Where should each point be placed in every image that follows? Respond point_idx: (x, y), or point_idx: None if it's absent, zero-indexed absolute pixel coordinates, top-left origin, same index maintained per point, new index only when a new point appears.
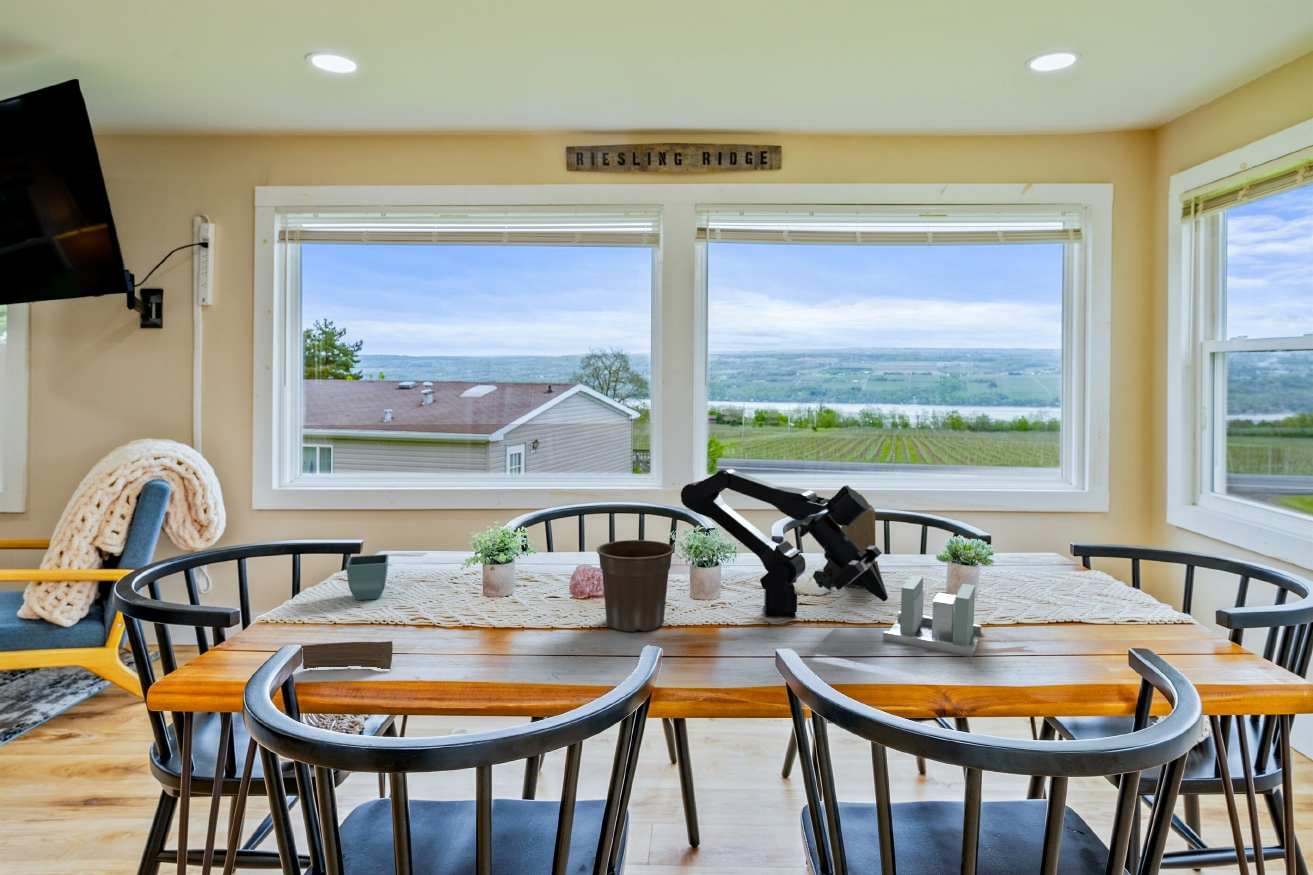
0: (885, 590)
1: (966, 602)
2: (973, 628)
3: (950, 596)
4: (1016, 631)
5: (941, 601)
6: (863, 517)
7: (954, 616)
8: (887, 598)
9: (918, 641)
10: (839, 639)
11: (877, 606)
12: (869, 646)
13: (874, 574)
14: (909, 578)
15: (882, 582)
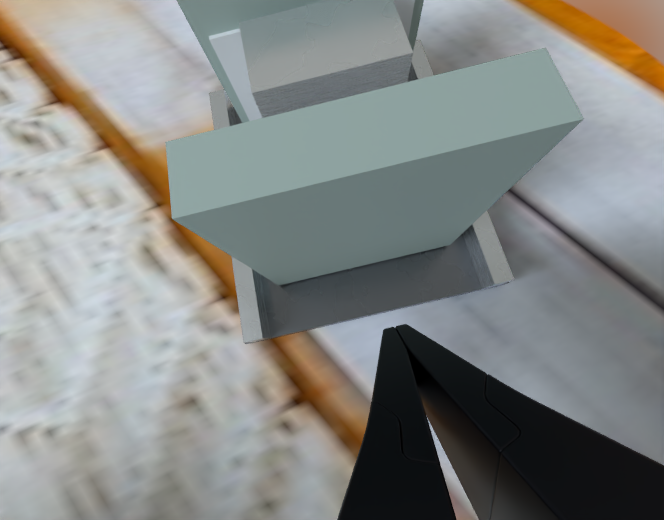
0: (389, 349)
1: None
2: (230, 112)
3: (276, 33)
4: (126, 82)
5: (387, 27)
6: None
7: (410, 15)
8: (398, 326)
9: None
10: None
11: (121, 497)
12: (542, 313)
13: (606, 441)
14: (287, 188)
15: (395, 385)
